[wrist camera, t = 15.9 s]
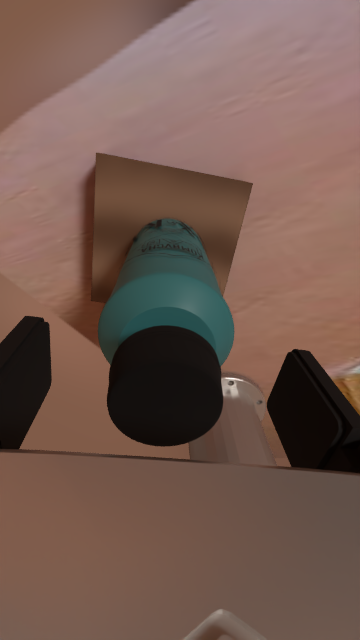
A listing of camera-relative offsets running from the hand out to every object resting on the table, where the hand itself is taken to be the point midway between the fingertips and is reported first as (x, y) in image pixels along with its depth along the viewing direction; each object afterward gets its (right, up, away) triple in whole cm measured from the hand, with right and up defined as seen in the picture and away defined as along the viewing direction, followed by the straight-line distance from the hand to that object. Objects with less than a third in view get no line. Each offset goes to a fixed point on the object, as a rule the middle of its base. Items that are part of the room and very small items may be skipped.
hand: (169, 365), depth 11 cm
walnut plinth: (-1, +10, +18) cm, 21 cm away
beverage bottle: (-1, +8, +16) cm, 18 cm away
